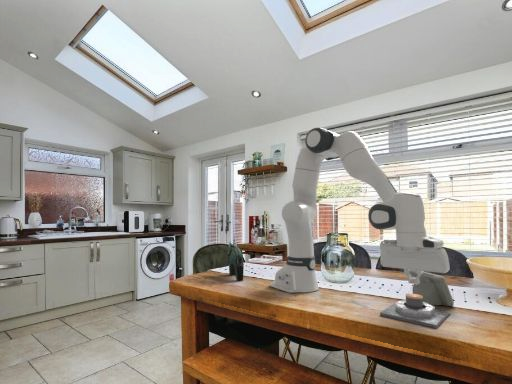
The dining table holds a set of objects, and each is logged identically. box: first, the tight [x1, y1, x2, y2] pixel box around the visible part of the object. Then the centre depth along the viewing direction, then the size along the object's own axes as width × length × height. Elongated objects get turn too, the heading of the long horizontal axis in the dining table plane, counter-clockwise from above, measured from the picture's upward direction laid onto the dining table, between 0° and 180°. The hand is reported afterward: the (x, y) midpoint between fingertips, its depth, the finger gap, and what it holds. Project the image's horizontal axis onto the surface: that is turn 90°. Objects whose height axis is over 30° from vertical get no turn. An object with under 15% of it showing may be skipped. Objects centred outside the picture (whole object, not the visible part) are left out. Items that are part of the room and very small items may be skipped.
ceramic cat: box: [226, 239, 245, 282], centre depth 157 cm, size 20×6×20 cm, turn 17°
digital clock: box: [409, 270, 455, 307], centre depth 110 cm, size 16×9×11 cm, turn 1°
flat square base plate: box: [379, 299, 451, 329], centre depth 96 cm, size 16×16×3 cm
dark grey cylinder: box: [405, 293, 423, 309], centre depth 96 cm, size 5×5×5 cm
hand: (414, 283), depth 96 cm, fingers closed
